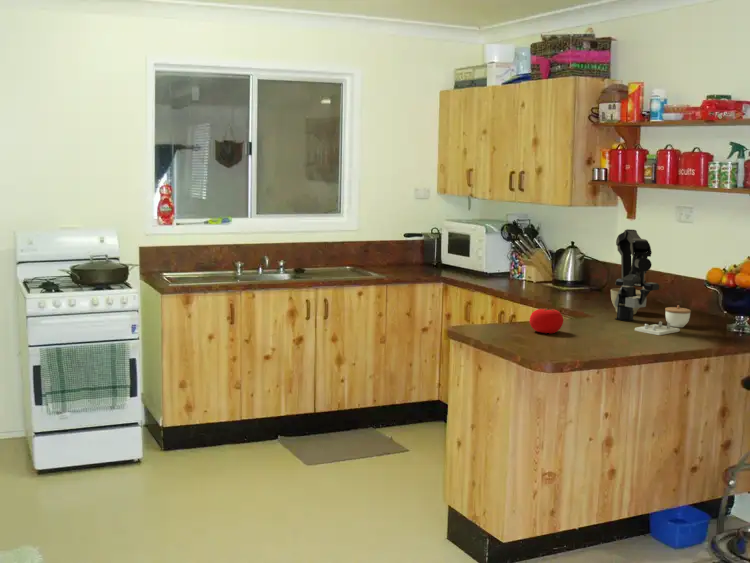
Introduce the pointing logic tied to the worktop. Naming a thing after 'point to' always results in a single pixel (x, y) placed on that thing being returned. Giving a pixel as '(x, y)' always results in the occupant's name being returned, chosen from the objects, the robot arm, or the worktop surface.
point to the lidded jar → (677, 316)
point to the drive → (634, 302)
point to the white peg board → (657, 329)
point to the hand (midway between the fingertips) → (635, 303)
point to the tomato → (546, 320)
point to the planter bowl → (613, 297)
